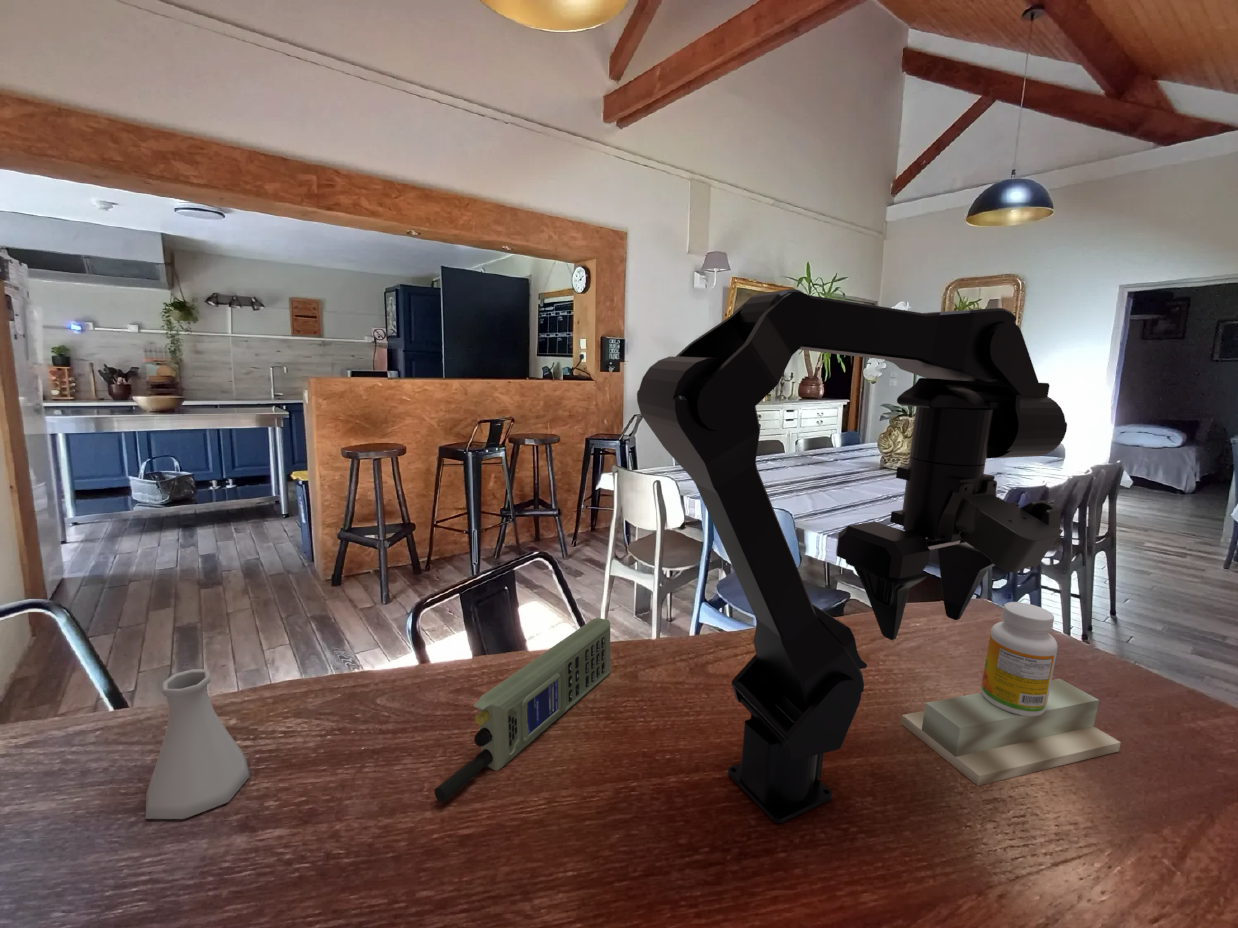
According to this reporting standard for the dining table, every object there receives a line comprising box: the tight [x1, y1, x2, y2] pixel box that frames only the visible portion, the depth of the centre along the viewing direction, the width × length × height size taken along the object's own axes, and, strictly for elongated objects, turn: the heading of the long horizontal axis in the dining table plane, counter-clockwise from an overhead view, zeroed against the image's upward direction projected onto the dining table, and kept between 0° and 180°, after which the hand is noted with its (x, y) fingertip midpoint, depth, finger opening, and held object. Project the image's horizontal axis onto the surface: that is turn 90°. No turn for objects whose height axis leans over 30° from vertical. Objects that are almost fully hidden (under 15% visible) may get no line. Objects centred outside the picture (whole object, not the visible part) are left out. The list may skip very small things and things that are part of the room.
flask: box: [145, 668, 251, 820], centre depth 47 cm, size 7×7×10 cm
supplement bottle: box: [980, 601, 1059, 716], centre depth 56 cm, size 5×5×10 cm
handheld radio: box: [433, 617, 611, 804], centre depth 56 cm, size 7×3×25 cm
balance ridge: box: [900, 678, 1121, 787], centre depth 58 cm, size 18×9×4 cm, turn 107°
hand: (922, 627), depth 52 cm, fingers open, 9 cm apart
